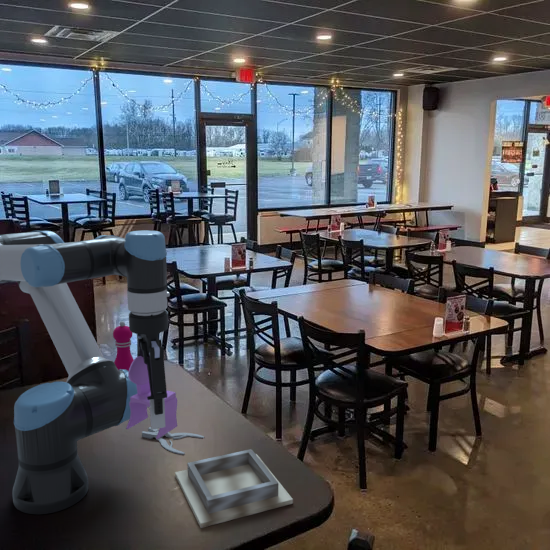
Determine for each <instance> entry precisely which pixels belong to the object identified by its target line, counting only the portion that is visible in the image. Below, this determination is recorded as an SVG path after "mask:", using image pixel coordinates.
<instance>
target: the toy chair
mask: <svg viewBox="0 0 550 550" xmlns="http://www.w3.org/2000/svg"><path fill="white" fill-rule="evenodd" d="M133 359H134V360H133V362H132V364H131V366H130V368H129V372H128V377H129V379H130V381H132V382H133V383H135V384H136V386H137V393H138V394H135V395H133V396H131V397H130V402H129V406H130V410H131V415H130V419H129V420H128V423H127V425H126V428H125V430H129V429H130V428H132V427H134V426H136V425H138V424H139V423H141V422H142V421H144V420H146V419H148V418H149V415H148V408H150V400H148V399H147V397H148V396H151V392H150V384H149V377H148V369H147V365H146V364H145V363H144V359H143V357H142V356H138V357H137V356H136V357H135V358H133ZM176 394H177V393H176V391H172V390H167V398H164V401H165V427H164V428H158V430H159V432H158V434H157V437H156V438H155V440H156V439H158V438H160V437H162V436H163V435H164V436H165V434H166V433H168V432H169V433H170V432H171V431H172V430H174V429H176V428H177V427H178V419H177V409H178V397H176V396H177V395H176ZM147 406H148V408H147ZM164 436H163V437H164Z"/></svg>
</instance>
